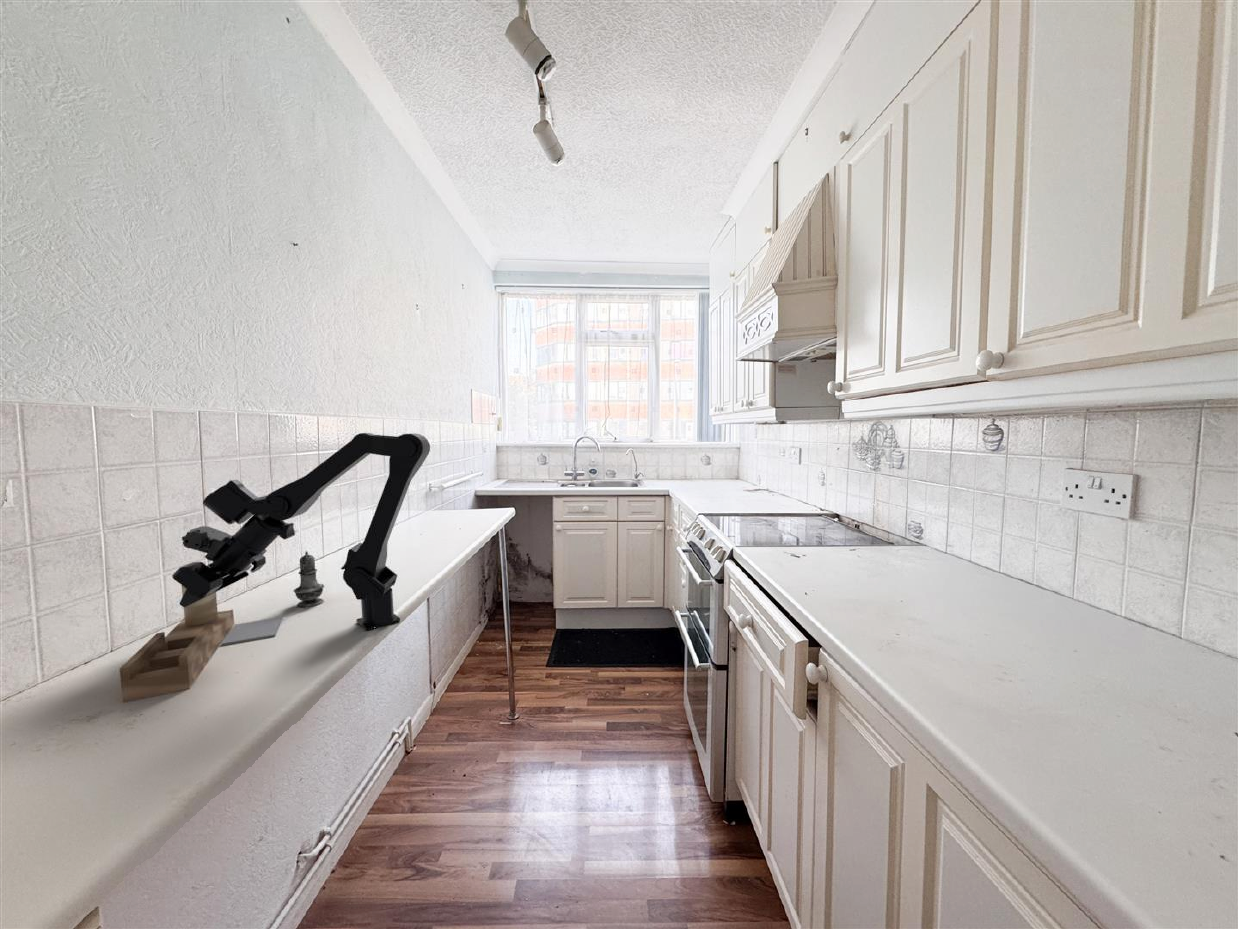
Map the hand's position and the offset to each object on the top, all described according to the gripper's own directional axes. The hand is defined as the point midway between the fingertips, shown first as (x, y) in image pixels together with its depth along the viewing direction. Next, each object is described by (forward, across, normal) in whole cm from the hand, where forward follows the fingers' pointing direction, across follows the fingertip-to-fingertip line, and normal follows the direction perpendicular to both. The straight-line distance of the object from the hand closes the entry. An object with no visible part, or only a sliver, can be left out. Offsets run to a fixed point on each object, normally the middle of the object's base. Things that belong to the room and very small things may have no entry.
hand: (191, 600), depth 93 cm
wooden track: (+2, +9, +8) cm, 13 cm away
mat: (-2, 0, +12) cm, 12 cm away
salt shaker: (-5, -15, +15) cm, 22 cm away
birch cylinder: (+2, 0, +4) cm, 4 cm away
